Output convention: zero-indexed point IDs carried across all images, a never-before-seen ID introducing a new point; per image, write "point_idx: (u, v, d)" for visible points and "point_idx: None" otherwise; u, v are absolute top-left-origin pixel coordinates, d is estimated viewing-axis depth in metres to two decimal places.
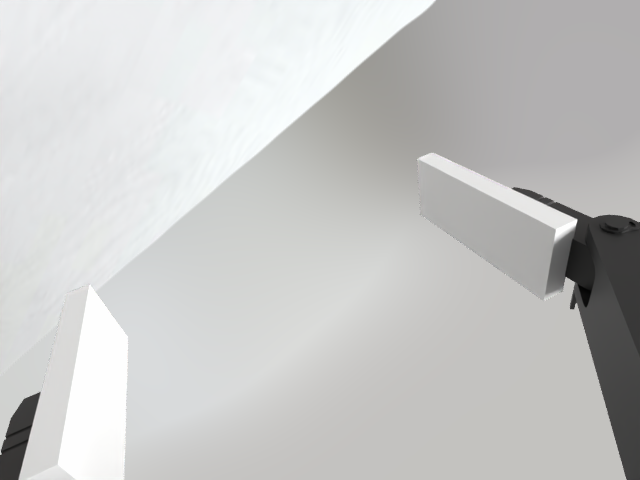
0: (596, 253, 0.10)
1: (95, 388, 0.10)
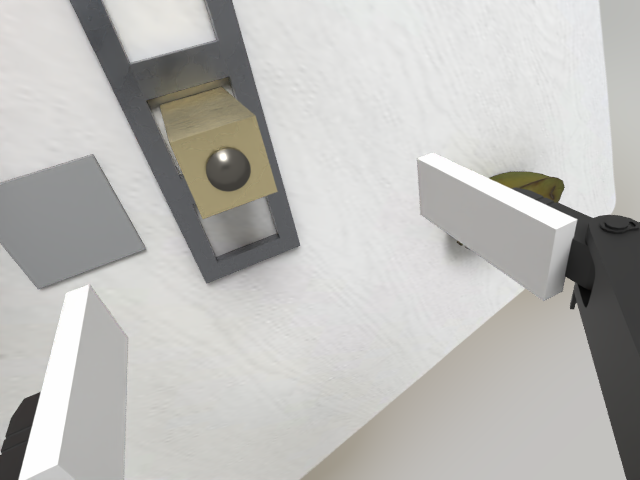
0: (596, 253, 0.10)
1: (95, 388, 0.10)
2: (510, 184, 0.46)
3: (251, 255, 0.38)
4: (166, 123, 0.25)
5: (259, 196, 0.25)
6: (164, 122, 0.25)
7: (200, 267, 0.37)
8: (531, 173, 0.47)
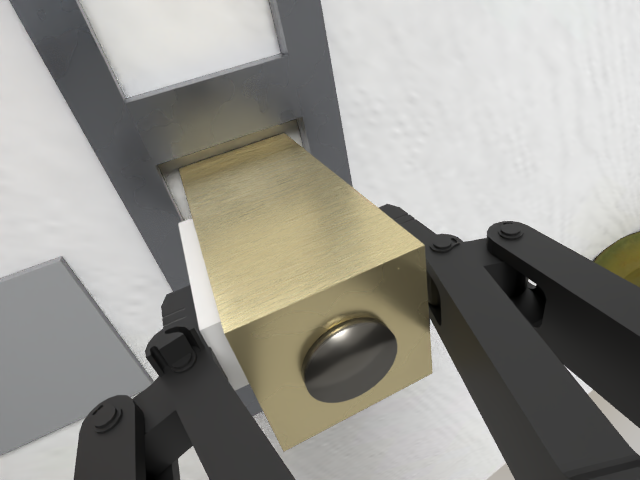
0: (435, 275, 0.10)
1: None
2: None
3: None
4: (201, 234, 0.12)
5: (397, 389, 0.12)
6: (196, 229, 0.12)
7: None
8: None
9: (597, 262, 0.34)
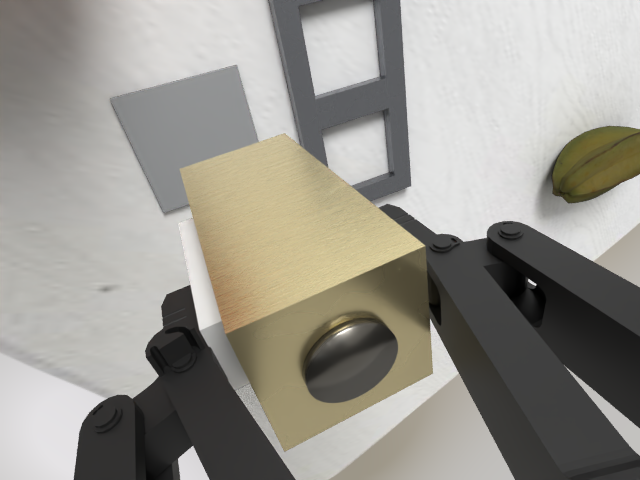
0: (435, 275, 0.10)
1: None
2: (612, 136, 0.45)
3: (365, 192, 0.37)
4: (202, 235, 0.12)
5: (397, 389, 0.12)
6: (197, 230, 0.12)
7: None
8: (630, 128, 0.46)
9: (566, 147, 0.46)
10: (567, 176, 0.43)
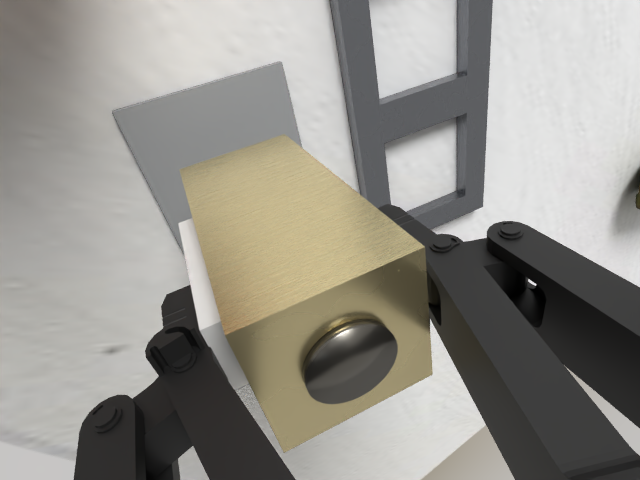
0: (435, 275, 0.10)
1: None
2: None
3: (430, 217, 0.30)
4: (202, 236, 0.12)
5: (397, 390, 0.12)
6: (197, 231, 0.12)
7: None
8: None
9: None
10: None
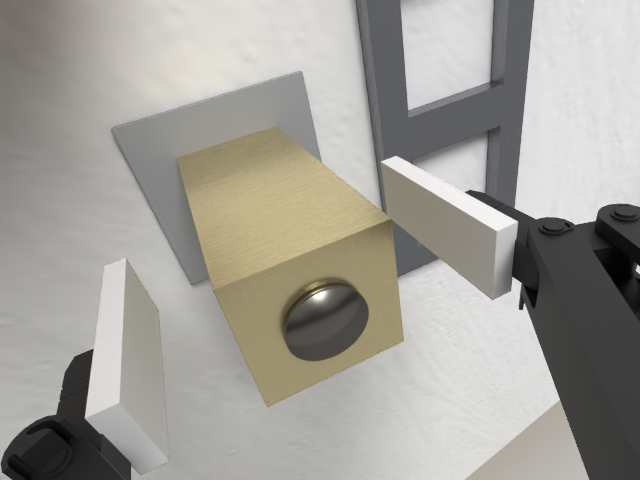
0: (538, 255, 0.10)
1: (139, 347, 0.11)
2: None
3: None
4: (195, 213, 0.13)
5: (371, 354, 0.13)
6: (191, 209, 0.13)
7: (397, 254, 0.26)
8: None
9: None
10: None
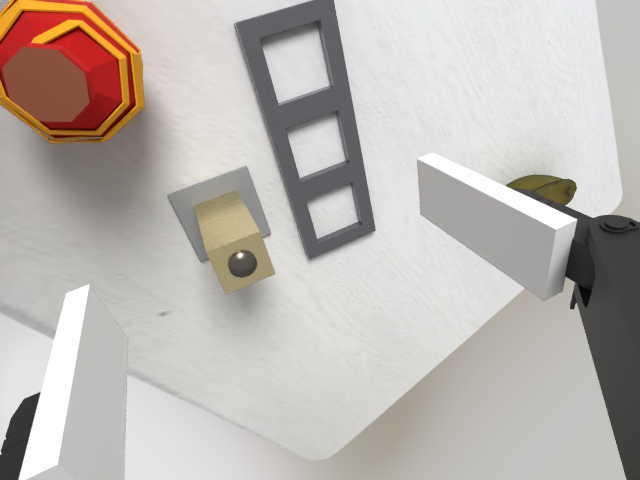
0: (596, 253, 0.10)
1: (95, 388, 0.10)
2: (534, 184, 0.59)
3: (341, 238, 0.51)
4: (201, 229, 0.37)
5: (263, 277, 0.37)
6: (200, 228, 0.38)
7: (306, 246, 0.50)
8: (550, 176, 0.60)
9: None
10: None
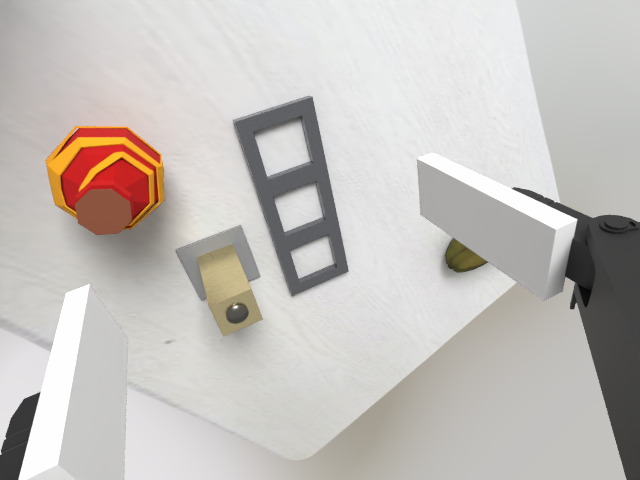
0: (596, 252, 0.10)
1: (95, 388, 0.10)
2: None
3: (319, 278, 0.61)
4: (204, 283, 0.47)
5: (253, 322, 0.47)
6: (203, 282, 0.47)
7: (289, 286, 0.60)
8: None
9: None
10: (452, 257, 0.67)
